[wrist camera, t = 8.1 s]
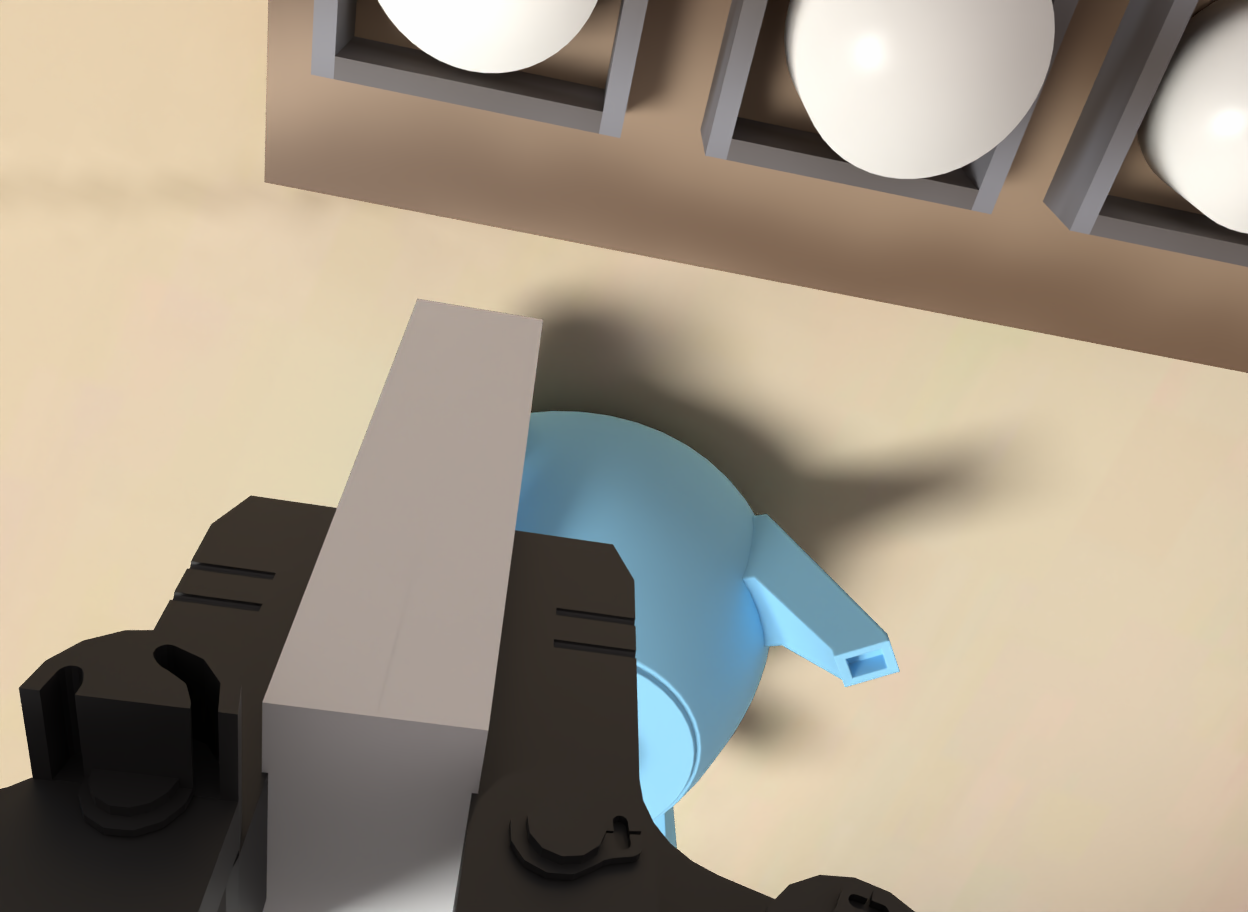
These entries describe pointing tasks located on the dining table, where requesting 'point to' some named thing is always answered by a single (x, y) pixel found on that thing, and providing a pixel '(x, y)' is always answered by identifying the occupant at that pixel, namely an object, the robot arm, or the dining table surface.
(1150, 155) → the end button
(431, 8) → the end button
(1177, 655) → the dining table surface
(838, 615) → the teapot
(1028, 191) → the button board
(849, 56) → the middle button
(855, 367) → the dining table surface
